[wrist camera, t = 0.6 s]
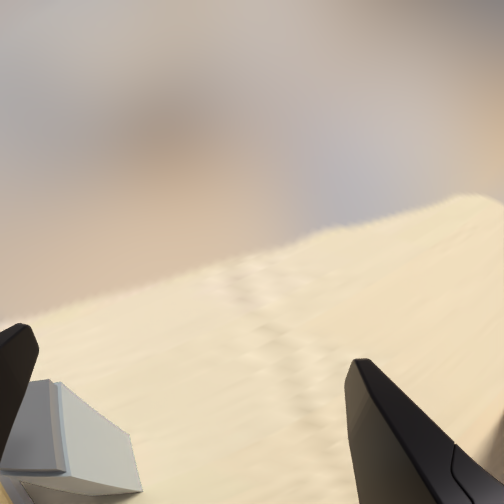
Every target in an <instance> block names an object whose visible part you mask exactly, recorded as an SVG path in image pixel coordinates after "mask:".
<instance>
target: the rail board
mask: <svg viewBox="0 0 504 504" xmlns="http://www.w3.org/2000/svg"><path fill="white" fill-rule="evenodd" d="M0 504H34V502H33V501H32V500H31V498H30V497H29V495H28V494H27V492H26V491H25V489H24V487H23V486H22V484H21V483H20V481H19V480H16V479H12V478H9V477H6V476H3V475H1V472H0Z"/></svg>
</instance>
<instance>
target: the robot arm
mask: <svg viewBox="0 0 504 504" xmlns="http://www.w3.org/2000/svg"><path fill="white" fill-rule="evenodd" d="M38 354H39V346H38V343H37V341H36V338H35V336H34V333H33V331H32V329H31V327H30V326H29V325H26V324H22V323H17V324H15V325H13V326H11V327H10V328H8V329H6V330H4V331H2V332H0V462H1V459H2V456H3V453H4V450H5V447H6V444H7V441H8V438H9V435H10V432H11V430H12V427H13V424H14V421H15V419H16V416H17V414H18V411H19V409H20V406H21V404H22V401H23V399H24V396H25V393H26V390H27V387H28V384H29V381H30V378H31V375H32V372H33V369H34V366H35V363H36V360H37V357H38ZM344 389H345V401H346V415H347V430H348V440H349V446H350V451H351V457H352V462H353V468H354V474H355V480H356V486H357V492H358V498H359V504H504V485H503V484H502V483H501V482H499V481H498V480H497V479H495V478H494V477H493V476H492V475H490V474H489V473H488V472H487V471H485V470H484V469H483V468H482V467H481V466H479V465H478V464H477V463H476V462H475V461H474V460H473V459H472V458H471V457H470V456H468V455H467V454H466V453H465V452H464V451H463V450H462V449H461V448H460V447H459V446H458V445H457V444H454V441H453V440H452V439H451V438H450V437H449V436H448V435H447V434H446V433H445V432H444V431H443V430H442V429H441V428H440V427H439V426H438V425H437V424H436V423H435V422H434V421H432V420H431V419H430V418H429V417H428V416H427V415H426V414H425V413H424V412H423V411H422V410H421V409H420V408H419V407H418V406H417V405H416V404H415V403H414V402H413V401H412V400H411V399H410V398H409V397H408V396H407V395H406V394H405V393H404V392H403V391H402V390H401V389H400V388H399V387H398V386H397V385H396V384H395V383H394V382H393V381H392V380H390V379H389V378H388V377H387V376H386V375H385V374H384V373H383V372H382V371H381V370H380V369H379V368H378V367H377V366H376V365H375V364H374V363H373V362H372V361H371V360H370V359H367V358H363V359H354V360H353V361H352V363H351V365H350V368H349V371H348V374H347V377H346V379H345V385H344Z"/></svg>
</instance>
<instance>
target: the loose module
mask: <svg viewBox="0 0 504 504" xmlns="http://www.w3.org/2000/svg"><path fill="white" fill-rule="evenodd" d="M0 472H1V475H3V476H6V477H9V478H12V479H16V480H19V481H23V482H26V483H30V484H34V485H38V486H42V487H46V488H51V489H55V490H60V491H65V492H70V493H76V494H82V495H88V496H100V495H114V494H125V493H134V492H143V489H142V485H141V482H140V478H139V474H138V470H137V466H136V462H135V458H134V453H133V449H132V444H131V440H130V435H129V434H128V433H126V432H125V431H123V430H122V429H120V428H119V427H118V426H116V425H115V424H113V423H112V422H111V421H109V420H108V419H106V418H105V417H104V416H102V415H101V414H100V413H98V412H97V411H96V410H95V409H93V408H92V407H91V406H89V405H88V404H87V403H86V402H84V401H83V400H82V399H81V398H79V397H78V396H77V395H76V394H75V393H73V392H72V391H71V390H70V389H69V388H67V387H66V386H65V385H64V384H63V383H62V382H57V383H53V382H52V381H51V380H49V379H47V380H40V381H32V382H29V384H28V387H27V390H26V393H25V396H24V399H23V401H22V404H21V406H20V409H19V411H18V414H17V416H16V419H15V421H14V424H13V427H12V430H11V432H10V435H9V438H8V441H7V444H6V447H5V450H4V453H3V456H2V459H1V462H0Z"/></svg>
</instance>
